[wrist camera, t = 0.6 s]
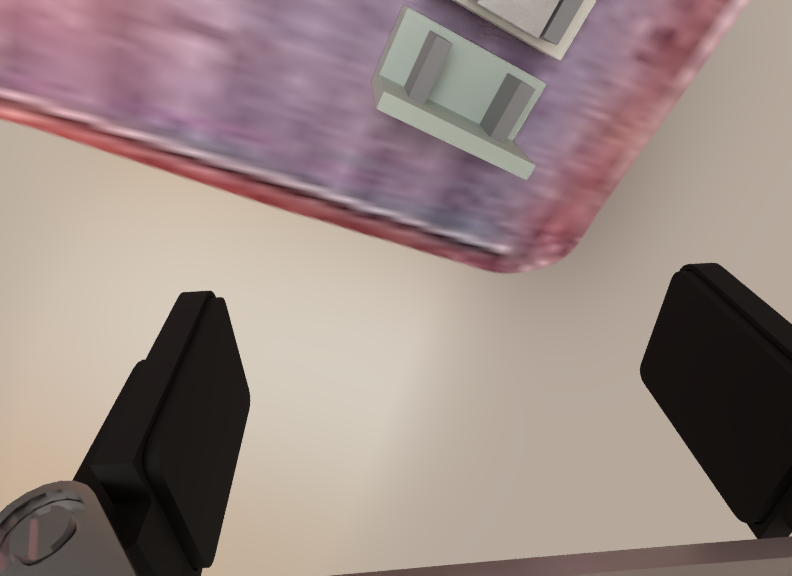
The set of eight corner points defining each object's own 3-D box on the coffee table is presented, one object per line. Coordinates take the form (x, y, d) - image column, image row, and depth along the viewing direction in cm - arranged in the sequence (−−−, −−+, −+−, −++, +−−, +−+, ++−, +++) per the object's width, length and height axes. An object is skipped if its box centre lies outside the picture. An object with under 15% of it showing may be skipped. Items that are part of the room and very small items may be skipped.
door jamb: (403, 4, 31) (417, 13, 24) (532, 75, 34) (577, 101, 27) (371, 80, 33) (376, 108, 26) (494, 141, 36) (527, 180, 29)
